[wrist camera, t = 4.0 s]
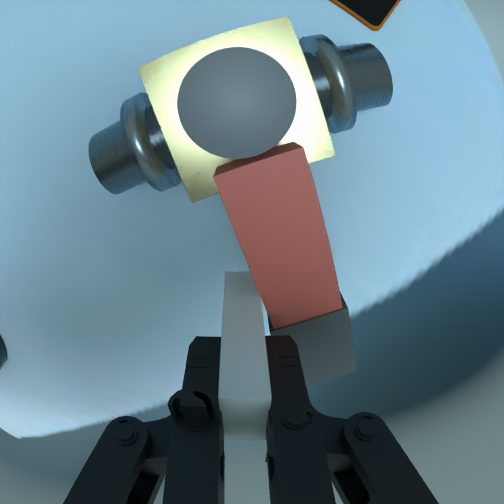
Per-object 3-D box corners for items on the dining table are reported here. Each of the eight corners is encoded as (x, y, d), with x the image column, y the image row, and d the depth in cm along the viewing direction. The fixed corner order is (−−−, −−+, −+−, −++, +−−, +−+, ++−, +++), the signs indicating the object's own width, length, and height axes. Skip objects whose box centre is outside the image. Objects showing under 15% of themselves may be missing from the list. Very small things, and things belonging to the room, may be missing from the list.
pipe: (143, 196, 21) (98, 242, 14) (109, 115, 18) (45, 124, 11) (368, 121, 19) (431, 133, 12) (341, 36, 16) (394, 4, 9)
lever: (284, 342, 17) (292, 390, 14) (183, 82, 11) (161, 72, 7) (340, 325, 17) (358, 369, 14) (264, 55, 10) (274, 33, 7)
